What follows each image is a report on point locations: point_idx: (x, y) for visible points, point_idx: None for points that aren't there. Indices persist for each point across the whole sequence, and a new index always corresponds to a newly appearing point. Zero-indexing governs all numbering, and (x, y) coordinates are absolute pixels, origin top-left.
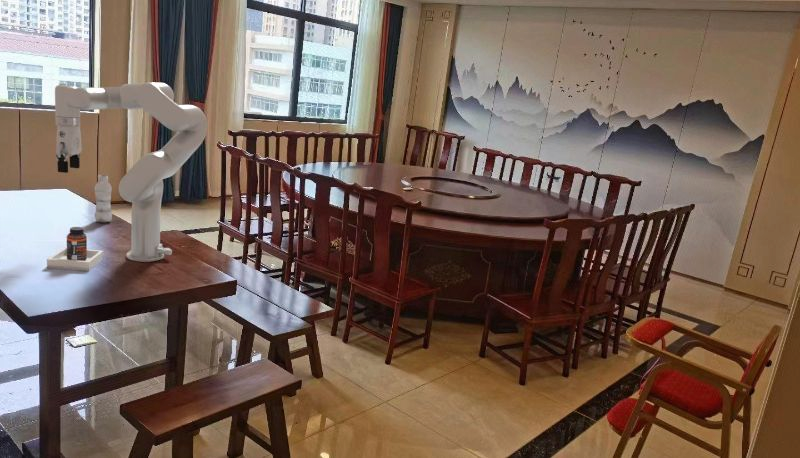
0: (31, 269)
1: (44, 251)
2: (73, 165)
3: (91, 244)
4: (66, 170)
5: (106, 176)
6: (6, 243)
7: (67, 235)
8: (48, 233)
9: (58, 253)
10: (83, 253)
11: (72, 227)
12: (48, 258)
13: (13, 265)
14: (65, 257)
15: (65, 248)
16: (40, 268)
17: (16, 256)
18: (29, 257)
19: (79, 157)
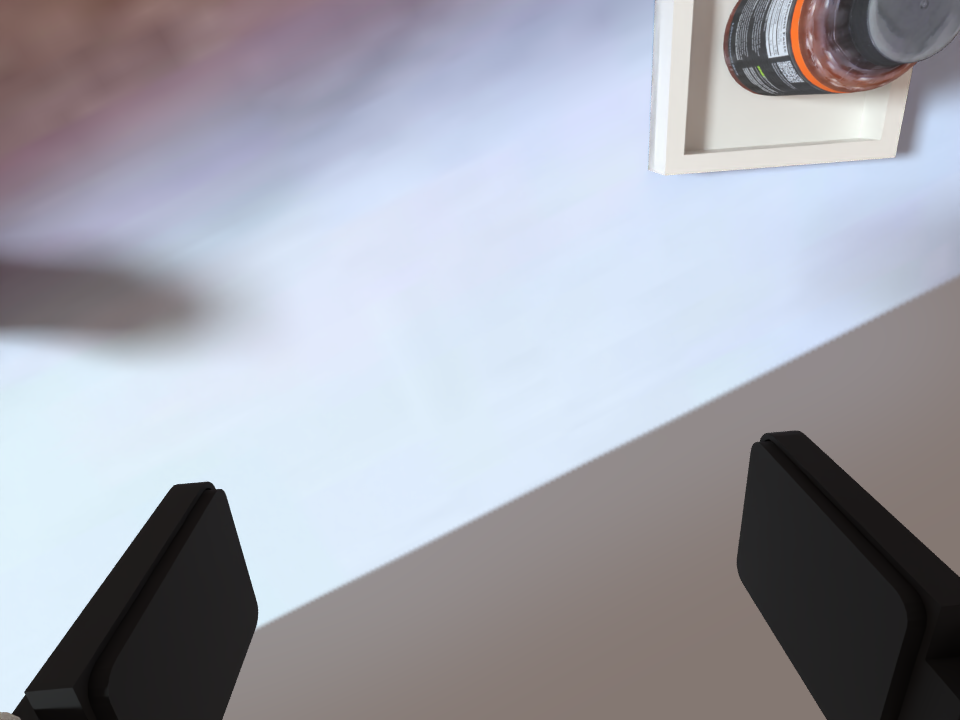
0: (885, 212)
1: (592, 299)
2: (229, 597)
3: (387, 128)
4: (818, 465)
5: None
6: (516, 497)
7: (899, 75)
8: (286, 431)
9: (782, 149)
10: None
11: (904, 49)
12: (880, 155)
13: (829, 313)
14: (731, 125)
15: (679, 159)
16: (868, 180)
17: (696, 368)
18: (702, 312)
19: (26, 690)
